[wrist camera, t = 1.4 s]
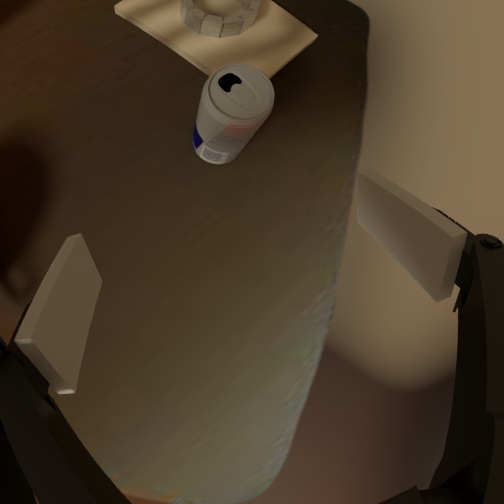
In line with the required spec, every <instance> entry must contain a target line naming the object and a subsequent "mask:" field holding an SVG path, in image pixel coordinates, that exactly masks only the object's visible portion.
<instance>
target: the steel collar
mask: <svg viewBox="0 0 504 504" xmlns="http://www.w3.org/2000/svg"><path fill="white" fill-rule="evenodd" d="M195 1H196V0H181V5H180V15H181V17H182V20H183V22H184V25H185V26H187V27H189V28H190V29H192V30H193V31H195V32H196V33H198V34H200V35H204V36H210V37H215V38H225V37H231V36H237V35H240V34H241V33H242V32H244V31H245V30H247V29H248V28H250V27H251V26H252V23H253V21H254V19H255V16H256V14H257V12H258V8H259V4H260V0H235V1H237V2H238V3H240V4H241V5H242V7H243V8H244V10H245V12H243V13H242V14H240V15H237V16H230V17H219V16H214V15H208V14H206V13H204V12H202V11H201V10H199V9H198V8H196V7H194V4H193V2H195Z"/></svg>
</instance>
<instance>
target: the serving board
mask: <svg viewBox="0 0 504 504" xmlns="http://www.w3.org/2000/svg"><path fill="white" fill-rule="evenodd" d="M193 4H194V7H196V8H198V9H199V10H201V11H202V12H204V13H206V14H208V15H214V16H219V17H230V16H237V15H240V14H242V13H243V12H245V10H244V8H243V7H242V5H241V4H240V3H238V2H237V1H235V0H196V1H195V2H193ZM180 5H181V0H122V1H121V2H119V3H118V4H116V5H115V6H114V8H115V13H116V14H118V15H120V16H121V17H123V18H125V19H126V20H128V21H129V22H131V23H133V24H134V25H136V26H137V27H139V28H141V29H142V30H144V31H145V32H147V33H148V34H150V35H151V36H153V37H154V38H156V39H157V40H159V41H160V42H162V43H163V44H165V45H166V46H168V47H169V48H171V49H172V50H174V51H175V52H176V53H178V54H179V55H181V56H182V57H184V58H185V59H186V60H188V61H189V62H190V63H192V64H193V65H195V66H196V67H197V68H199V69H200V70H201V71H203V72H204V73H205V74H207V75H208V76H209V77H210V76H211V75H212V74H213V73H214V72H215V71H216V70H217V69H219V68H221V67H223V66H225V65H228V64H235V63H240V64H247V65H250V66H253V67H255V68H257V69H259V70H260V71H262V72H263V73H264V74H265V75H266V76H267V77H268V78H269V79H270V78H271V77H272V76H273V75H274V74H276V73H277V72H278V71H279V70H280V69H281V68H282V67H284V66H285V65H286V64H287V63H288V62H289V61H291V60H292V59H293V58H294V57H295V56H297V55H298V54H299V53H300V52H301V51H303V50H304V49H305V48H306V47H308V46H309V45H310V44H311V43H313V42H314V41H315V39H316V38H317V37H318V35H317V34H316V33H314V32H313V31H312V30H311V29H309V28H308V27H307V26H305V25H304V24H303V23H302V22H300V21H299V20H298V19H296V18H295V17H294V16H292V15H291V14H290V13H288V12H287V11H285V10H284V9H283V8H281V7H280V6H278V5H277V4H275V3H274V2H273V1H271V0H260V4H259V8H258V12H257V14H256V16H255V19H254V21H253V23H252V26H251V27H250V28H248V29H247V30H245V31H244V32H242V33H241V34H240V35H237V36H231V37H225V38H215V37H210V36H204V35H200V34H198V33H196V32H195V31H193V30H192V29H190V28H189V27H187V26H185V25H184V22H183V20H182V17H181V15H180Z"/></svg>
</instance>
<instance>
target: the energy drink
mask: <svg viewBox="0 0 504 504" xmlns="http://www.w3.org/2000/svg"><path fill="white" fill-rule="evenodd" d="M274 95H275V94H274V88H273V85H272V83H271V81H270V80H269V78H268V77H267V76H266V75H265V74H264V73H263V72H262V71H260V70H259V69H257V68H255V67H253V66H250V65H247V64H240V63H235V64H228V65H225V66H223V67H221V68H219V69H217V70H216V71H215V72H214V73H213V74H212V75H211V76H210V77H209V78H208V80H207V81H206V83H205V85H204V87H203V92H202V96H201V100H200V105H199V109H198V114H197V119H196V124H195V128H194V133H193V146H194V149H195V151H196V153H197V154H198V155H199V157H201V158H202V159H203V160H205V161H206V162H209V163H212V164H225V163H228V162H230V161H232V160H233V159H235V158H236V157H237V156H238V155H239V153H240V152H241V151H242V149H243V148H244V147H245V146H246V144H247V143H248V142H249V140H250V139H251V138H252V136H253V135H254V134H255V133H256V131H257V130H258V129H259V127H260V126H261V125H262V124H263V122H264V121H265V120H266V119H267V117H268V116H269V114H270V113H271V111H272V108H273V104H274Z"/></svg>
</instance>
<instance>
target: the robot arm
mask: <svg viewBox="0 0 504 504" xmlns="http://www.w3.org/2000/svg"><path fill="white" fill-rule="evenodd" d="M357 185H358V186H357V191H358V192H357V195H358V197H357V200H358V201H357V202H358V203H357V223H358V224H360V226H362V227H363V228H364V229H365V230H366V231H367V232H368V233H369V234H370V235H371V236H372V237H373V238H374V239H375V240H376V241H377V242H378V243H379V244H381V246H383V248H384V249H386V250H387V251H388V252H389V253H390V254H391V255H392V256H393V257H394V258H395V259H396V260H397V261H398V262H399V263H400V264H401V266H402V267H404V269H405V270H406V271H407V272H408V273H409V274H410V275H411V276H412V277H413V278H414V279H415V280H416V281H417V282H418V283H419V284H420V285H421V286H422V287H423V288H424V289H425V291H426V292H427V293H428V294H429V295H430V296H431V297H432V298H433V299H434V300H435V301H436V302H439V301H441V300H444V299H446V298H448V297H450V296H451V294H452V290H453V287H454V284H456V285H457V286H458V287H459V288H460V291H459V294H458V297H457V300H456V303H455V306H454V309H453V312H456V309H457V308H458V347H457V363H456V375H455V385H454V394H453V402H452V410H451V416H450V422H449V428H448V433H447V438H446V443H445V448H444V453H443V456H442V459H441V461H440V463H439V465H438V467H437V469H436V471H435V473H434V475H433V478H432V480H431V483H430V486H429V489H424V490H418V488H417V486H414V487H412V488H410V489H408V490H407V491H404V492H403V493H400V494H398V495H396V496H394V497H392V498H390V499H388V500H386V501H383V502H381V503H379V504H504V244H503V243H502V242H501V241H500V240H499V239H498V238H496V237H494V236H491V235H488V234H478V235H476V236H475V235H474V234H472V233H471V232H470V231H468V230H467V229H466V228H464V227H463V226H461V225H460V224H459V223H457V222H455V221H454V220H453V219H452V218H450V217H448V216H447V215H446V214H444V213H443V212H442V211H440V210H438V209H435V208H433V207H430V206H429V205H428V204H426V203H425V202H423V201H421V200H420V199H418V198H417V197H415V196H414V195H412V194H411V193H409V192H408V191H406V190H404V189H403V188H401V187H400V186H398V185H396V184H395V183H393V182H391V181H390V180H388V179H386V178H385V177H383V176H381V175H379V174H378V173H376V172H374V171H373V170H371V169H369V170H363V171H357ZM101 284H102V279H101V277H100V275H99V273H98V271H97V269H96V266H95V264H94V262H93V260H92V257H91V255H90V253H89V251H88V248H87V246H86V244H85V241H84V239H83V236H82V234H81V233H80V234H76V235H73V236H70V237H67V239H66V241H65V242H64V244H63V246H62V247H61V249H60V251H59V252H58V254H57V256H56V257H55V259H54V261H53V263H52V265H51V266H50V268H49V270H48V272H47V274H46V275H45V277H44V279H43V281H42V283H41V285H40V287H39V289H38V291H37V293H36V295H35V297H34V299H32V300H31V302H30V303H29V304H28V305H27V306H26V308H25V309H24V312H23V314H22V316H21V319H20V320H19V322H18V326H16V329H15V331H14V333H13V335H12V338H11V340H10V342H9V345H8V346H7V345H6V343H5V342H4V341H3V339H2V338H1V336H0V504H37V503H36V500H35V497H34V495H35V496H36V498H37V500H38V502H39V503H40V504H132V503H131V502H130V501H129V500H128V499H127V498H126V497H125V496H124V495H123V494H122V492H121V491H120V490H119V489H118V488H117V487H116V486H115V485H114V483H113V482H112V481H111V480H110V479H109V477H108V476H107V475H106V474H105V473H104V471H103V470H102V469H101V468H100V466H99V465H98V464H97V463H96V461H95V460H94V459H93V457H92V456H91V455H90V453H89V452H88V451H87V449H86V448H85V447H84V445H83V444H82V443H81V441H80V440H79V438H78V437H77V435H76V434H75V432H74V431H73V430H72V428H71V427H70V425H69V424H68V422H67V420H66V419H65V417H64V416H63V414H62V413H61V411H60V409H59V408H58V406H57V404H56V403H55V401H54V399H53V398H52V397H51V396H50V395H49V394H48V388H49V384H50V385H51V386H52V387H53V389H54V390H55V391H56V392H57V393H58V394H66V393H75V391H76V386H77V380H78V375H79V370H80V365H81V361H82V356H83V352H84V347H85V343H86V339H87V335H88V331H89V327H90V323H91V319H92V316H93V312H94V308H95V305H96V301H97V298H98V294H99V291H100V288H101ZM33 493H34V494H33Z"/></svg>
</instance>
